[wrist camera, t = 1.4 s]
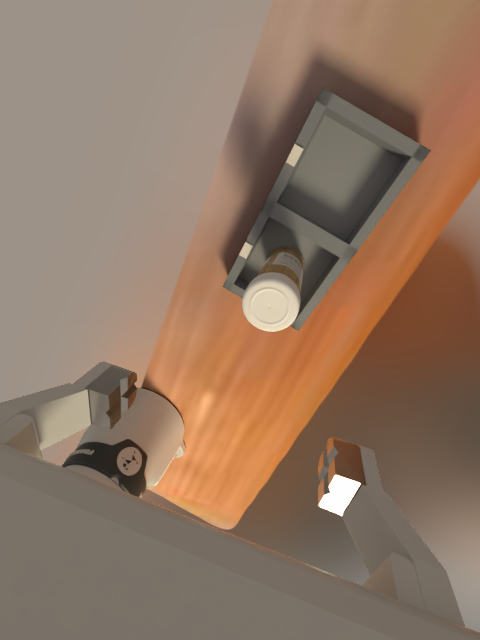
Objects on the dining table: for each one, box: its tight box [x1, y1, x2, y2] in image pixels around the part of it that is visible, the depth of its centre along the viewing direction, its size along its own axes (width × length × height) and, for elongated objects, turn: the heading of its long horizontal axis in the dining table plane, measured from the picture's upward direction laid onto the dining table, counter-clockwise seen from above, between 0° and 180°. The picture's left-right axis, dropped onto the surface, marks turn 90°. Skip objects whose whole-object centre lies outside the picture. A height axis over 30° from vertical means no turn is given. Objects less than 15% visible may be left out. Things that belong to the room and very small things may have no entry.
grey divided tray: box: [223, 88, 431, 331], centre depth 30 cm, size 20×10×4 cm, turn 153°
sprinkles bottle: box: [242, 247, 304, 331], centre depth 27 cm, size 5×5×13 cm
